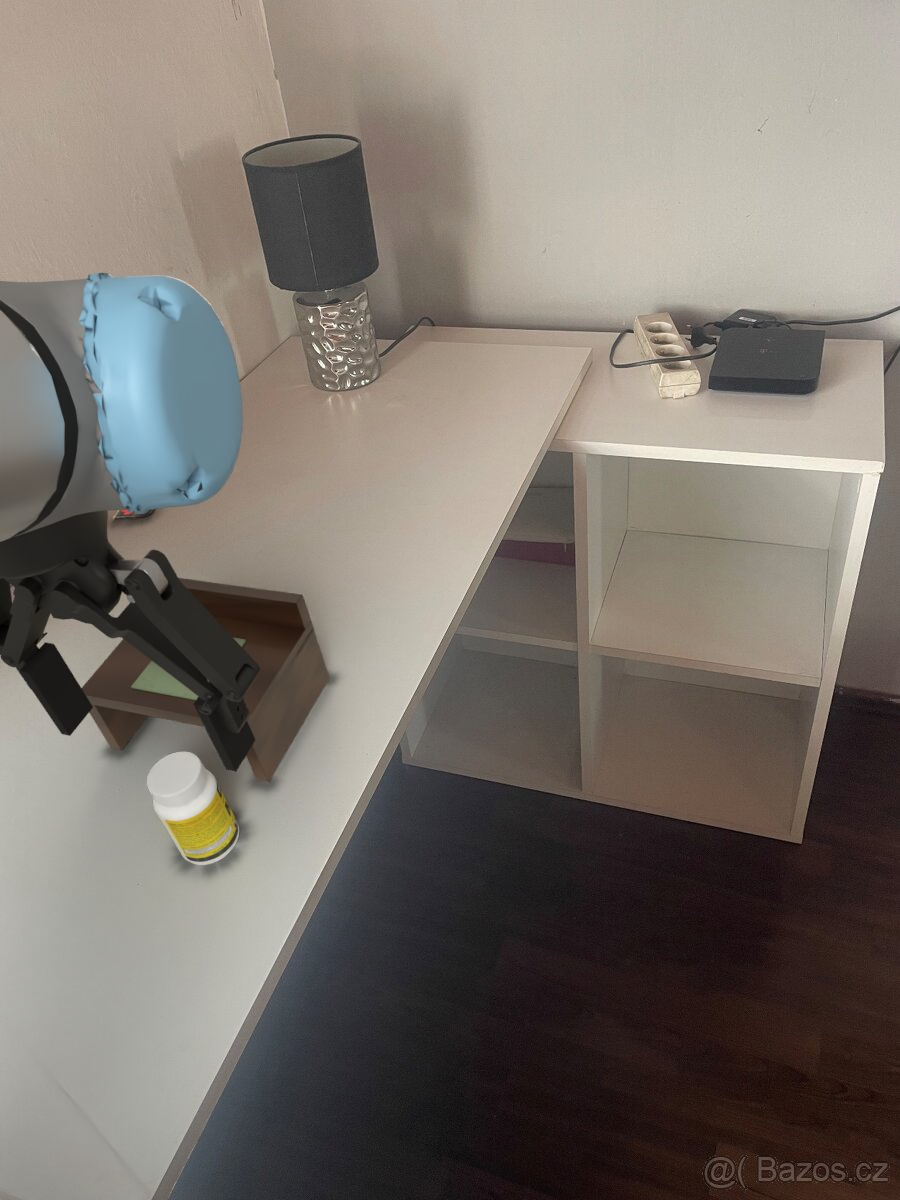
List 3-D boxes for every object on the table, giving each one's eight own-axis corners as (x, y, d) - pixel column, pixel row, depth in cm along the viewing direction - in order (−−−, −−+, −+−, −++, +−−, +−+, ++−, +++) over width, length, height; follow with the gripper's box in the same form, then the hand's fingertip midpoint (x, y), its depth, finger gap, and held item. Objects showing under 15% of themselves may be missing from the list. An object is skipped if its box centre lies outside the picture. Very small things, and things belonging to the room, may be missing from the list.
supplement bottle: (253, 832, 67) (220, 765, 62) (206, 877, 65) (167, 811, 59) (214, 804, 70) (179, 737, 64) (168, 846, 67) (127, 780, 62)
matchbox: (153, 516, 103) (152, 513, 103) (111, 524, 103) (109, 521, 103) (159, 495, 107) (157, 492, 106) (118, 502, 107) (116, 499, 106)
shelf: (268, 782, 71) (231, 699, 64) (110, 748, 76) (61, 667, 69) (330, 677, 79) (302, 593, 72) (183, 653, 84) (145, 573, 78)
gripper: (249, 457, 44) (340, 726, 58) (-107, 429, 52) (48, 671, 66) (169, 549, 39) (290, 819, 53) (-212, 502, 47) (-19, 747, 61)
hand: (156, 737), depth 60 cm, fingers open, 13 cm apart
